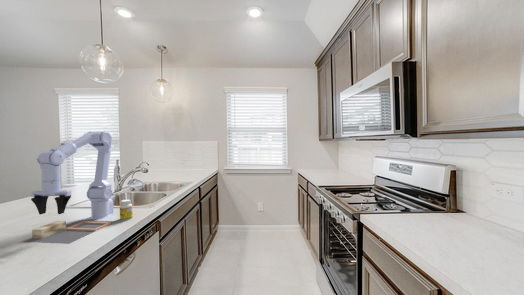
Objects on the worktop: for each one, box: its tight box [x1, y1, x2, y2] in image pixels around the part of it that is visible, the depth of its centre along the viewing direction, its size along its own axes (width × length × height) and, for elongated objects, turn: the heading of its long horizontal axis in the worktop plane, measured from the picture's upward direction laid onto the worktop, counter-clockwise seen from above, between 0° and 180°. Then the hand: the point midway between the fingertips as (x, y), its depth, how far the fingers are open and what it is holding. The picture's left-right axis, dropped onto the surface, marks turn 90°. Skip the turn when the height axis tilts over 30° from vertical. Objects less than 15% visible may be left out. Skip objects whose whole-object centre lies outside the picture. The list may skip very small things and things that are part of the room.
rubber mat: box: [22, 219, 117, 245], centre depth 99 cm, size 24×20×1 cm
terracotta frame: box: [66, 221, 112, 232], centre depth 103 cm, size 9×14×1 cm, turn 83°
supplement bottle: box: [119, 199, 134, 221], centre depth 114 cm, size 5×5×10 cm
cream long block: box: [31, 220, 67, 239], centre depth 96 cm, size 10×4×4 cm, turn 173°
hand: (51, 213), depth 94 cm, fingers open, 7 cm apart
